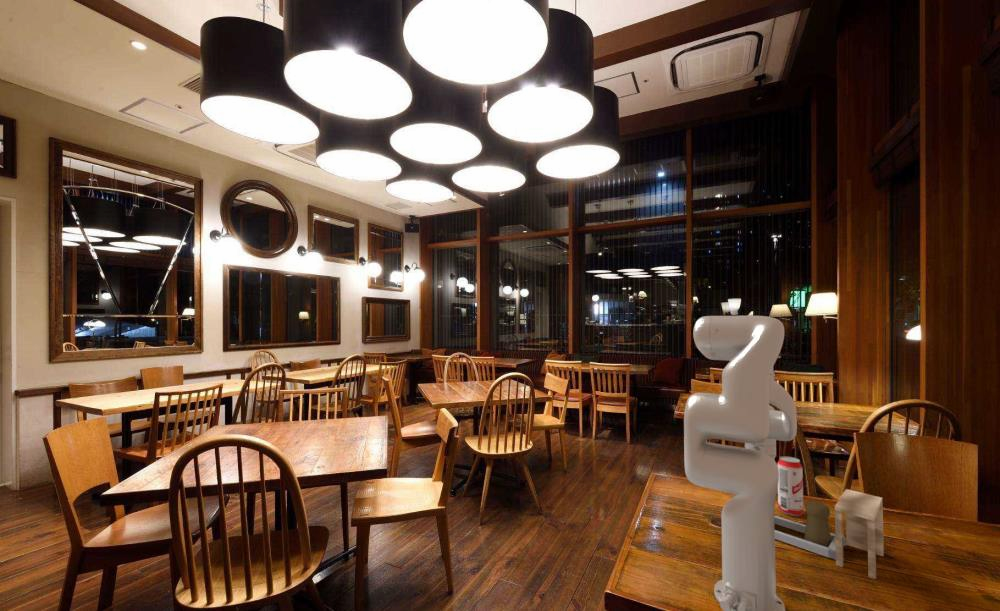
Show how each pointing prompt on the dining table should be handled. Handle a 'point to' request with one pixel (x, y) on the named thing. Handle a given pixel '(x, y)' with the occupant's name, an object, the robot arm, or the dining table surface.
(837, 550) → the stool
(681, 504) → the dining table surface
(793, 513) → the beer can
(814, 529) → the cork
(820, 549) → the sled
